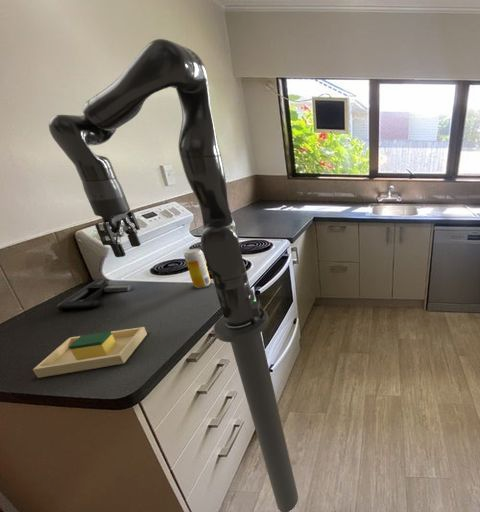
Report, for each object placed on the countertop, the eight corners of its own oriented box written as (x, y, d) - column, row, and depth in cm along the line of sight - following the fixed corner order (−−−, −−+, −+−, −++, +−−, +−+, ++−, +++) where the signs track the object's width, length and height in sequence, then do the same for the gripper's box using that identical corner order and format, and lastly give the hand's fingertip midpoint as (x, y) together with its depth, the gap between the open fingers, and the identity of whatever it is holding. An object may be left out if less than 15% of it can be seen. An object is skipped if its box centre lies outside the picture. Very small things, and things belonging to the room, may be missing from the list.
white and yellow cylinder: (201, 281, 119) (191, 247, 113) (214, 281, 118) (205, 248, 112) (190, 288, 114) (179, 253, 108) (204, 289, 113) (193, 254, 107)
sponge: (116, 344, 82) (110, 331, 81) (107, 355, 78) (100, 342, 76) (87, 348, 81) (80, 335, 79) (76, 360, 77) (68, 346, 75)
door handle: (137, 276, 118) (92, 278, 115) (103, 302, 100) (48, 305, 97) (140, 283, 120) (95, 285, 117) (106, 310, 101) (52, 313, 98)
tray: (147, 334, 88) (144, 326, 86) (124, 363, 76) (120, 355, 75) (73, 345, 83) (69, 337, 82) (37, 378, 72) (32, 369, 71)
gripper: (107, 200, 73) (131, 258, 79) (135, 190, 85) (154, 241, 92) (71, 203, 71) (98, 262, 77) (106, 192, 84) (127, 244, 90)
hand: (129, 251), depth 85 cm, fingers open, 8 cm apart
